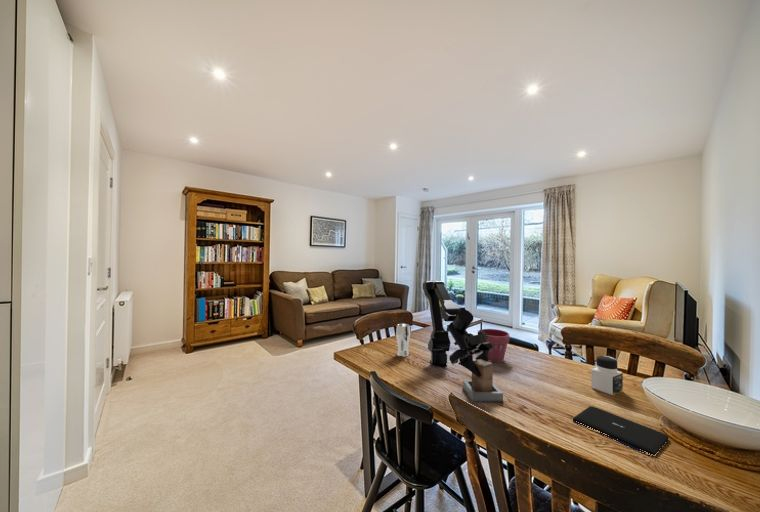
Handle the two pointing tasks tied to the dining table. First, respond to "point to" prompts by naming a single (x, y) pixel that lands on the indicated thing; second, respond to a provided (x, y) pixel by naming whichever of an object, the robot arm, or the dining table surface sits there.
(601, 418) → the laptop
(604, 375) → the medicine bottle
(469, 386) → the holder box
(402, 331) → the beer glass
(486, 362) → the walnut block
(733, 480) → the dining table surface
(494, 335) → the plant pot
